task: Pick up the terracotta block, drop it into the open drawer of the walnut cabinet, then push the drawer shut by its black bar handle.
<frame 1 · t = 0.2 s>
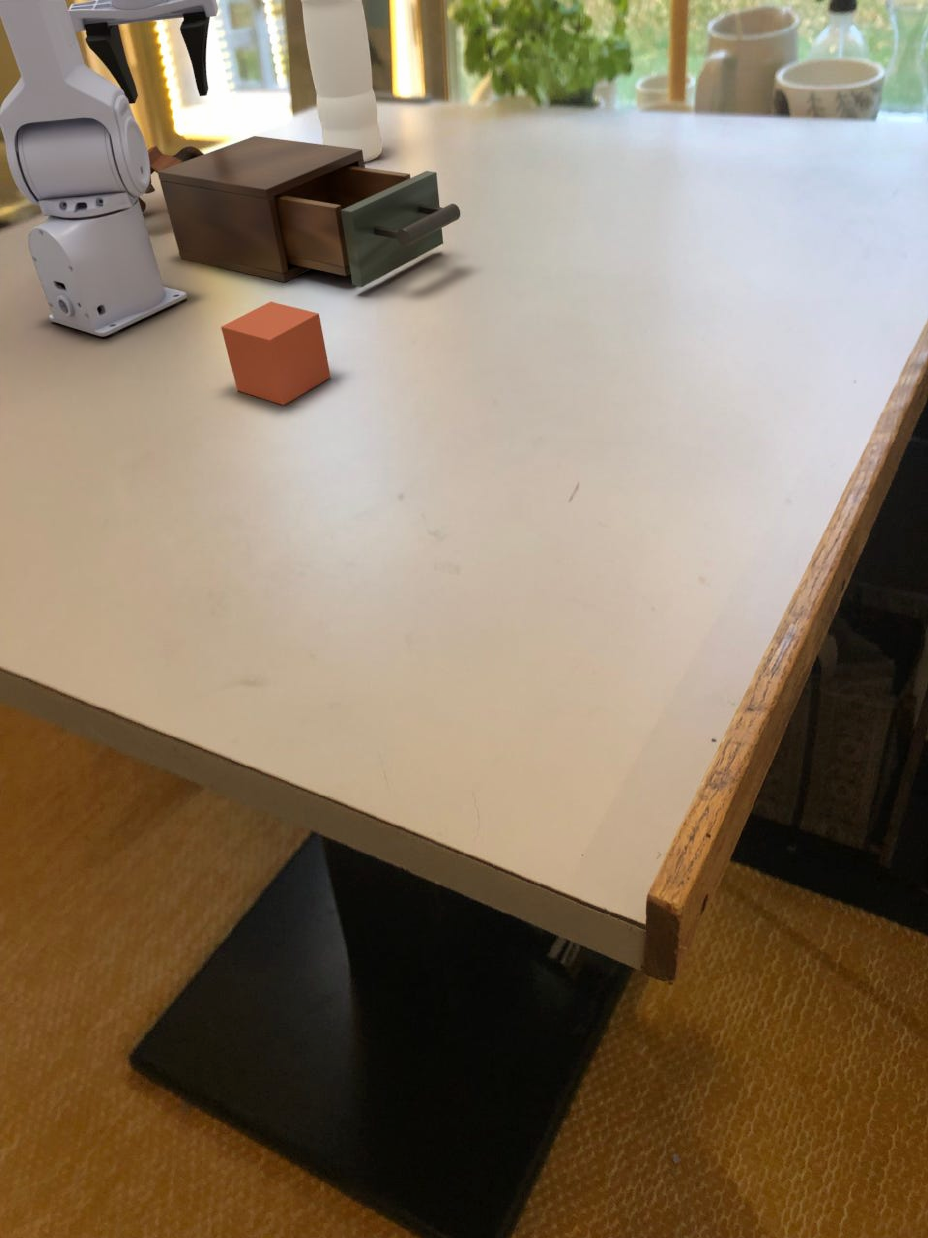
hand: (168, 95, 105), 10 cm above the table, tool pointing down, fingers open, 7 cm apart
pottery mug: (175, 219, 107), on the table
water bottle: (354, 159, 119), on the table
drawer: (360, 221, 88), point 4 cm above the table, slide at 8.0 cm
block: (284, 383, 73), on the table
cabinet: (277, 247, 96), on the table
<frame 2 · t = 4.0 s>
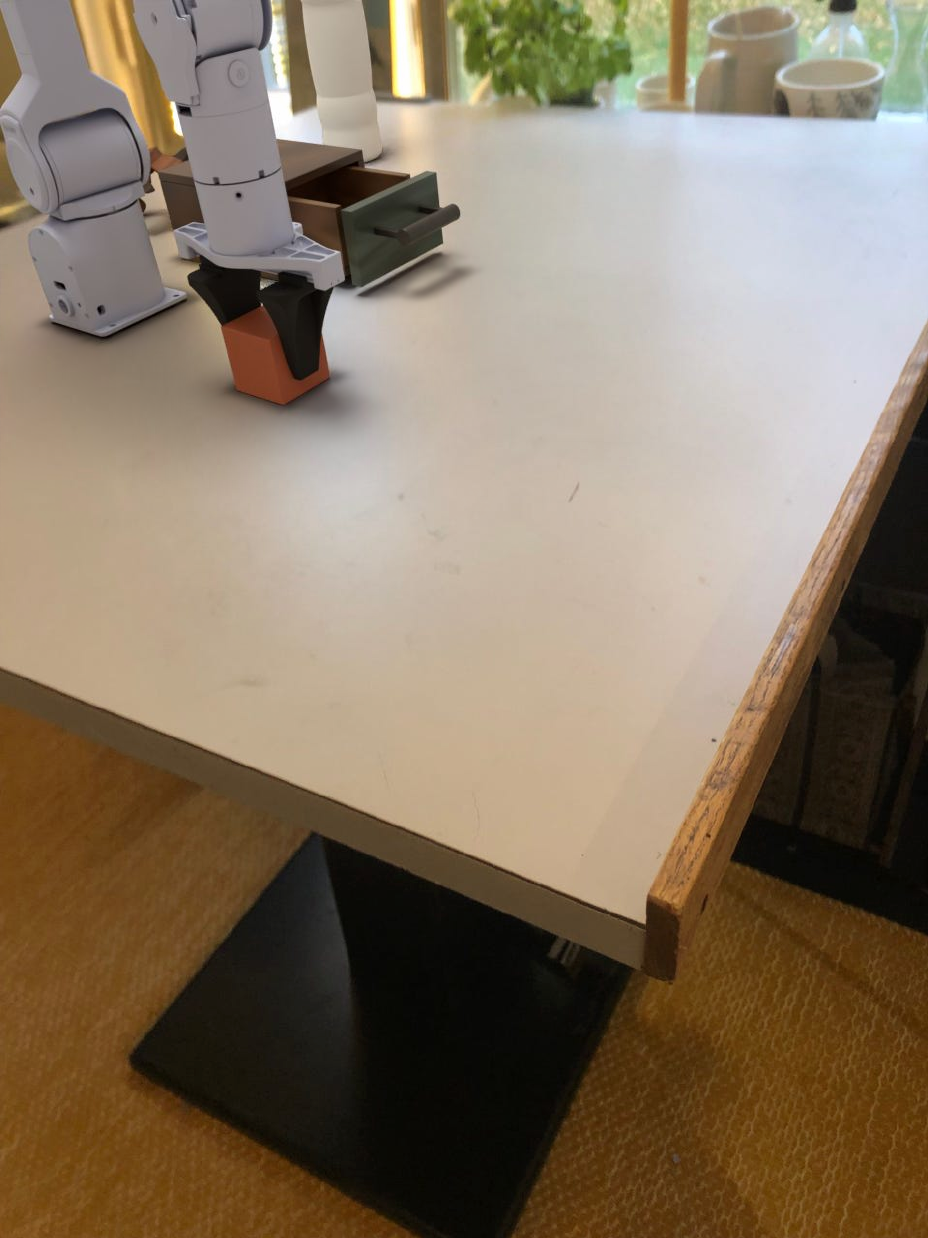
hand: (280, 366, 72), 1 cm above the table, tool pointing down, fingers closed on block, 5 cm apart
block: (283, 383, 73), on the table, touching gripper
everything else where it was.
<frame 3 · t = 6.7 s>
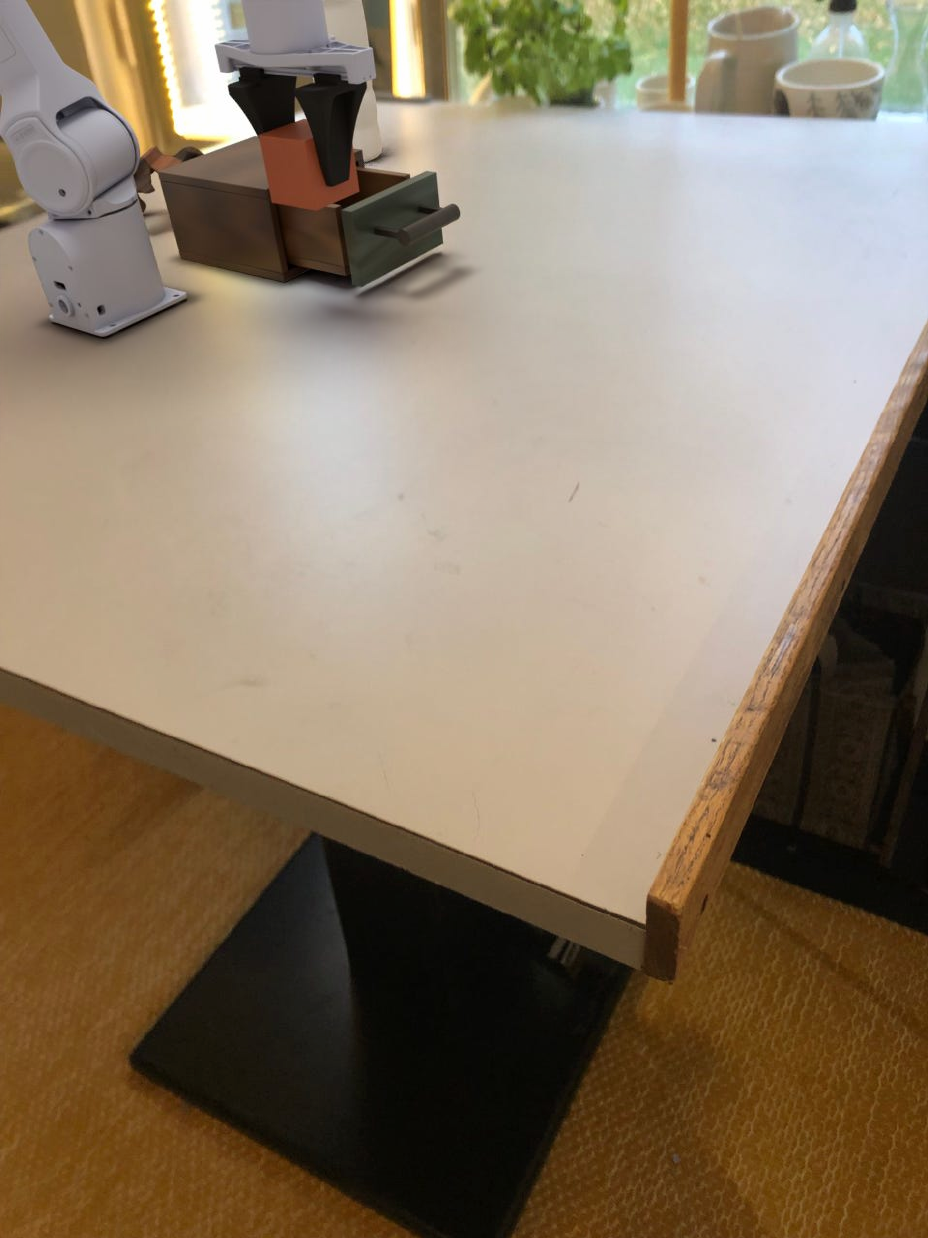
hand: (312, 178, 77), 10 cm above the table, tool pointing down, fingers closed on block, 5 cm apart
block: (315, 197, 78), point 9 cm above the table, touching gripper
everything else where it was.
when the fingers open (6 cm above the table, at t = 9.3 s): block drops 3 cm, resting on drawer.
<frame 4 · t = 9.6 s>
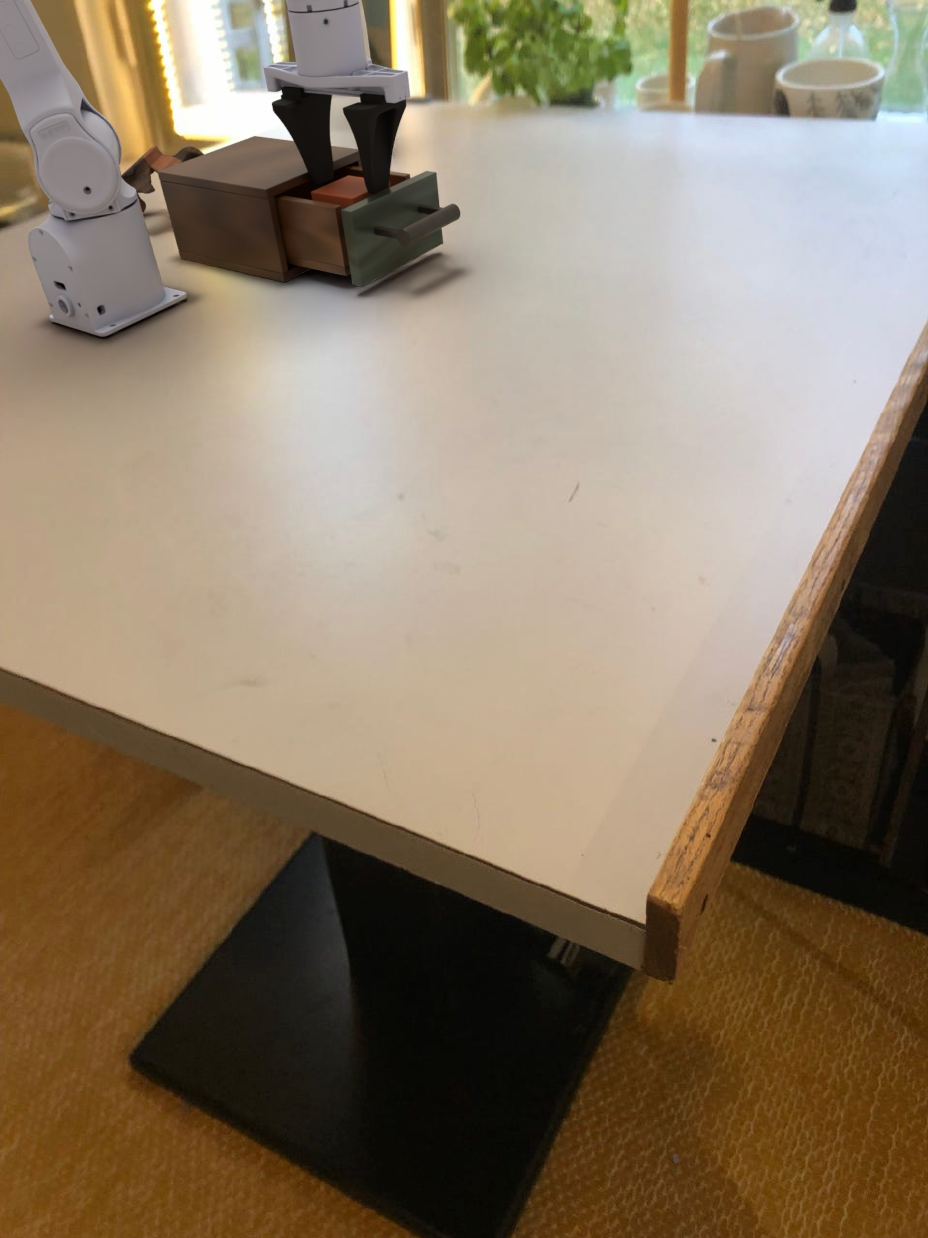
hand: (350, 185, 86), 7 cm above the table, tool pointing down, fingers open, 6 cm apart
drawer: (360, 221, 88), point 4 cm above the table, slide at 8.0 cm, touching block
block: (358, 243, 89), point 2 cm above the table, touching drawer
everything else where it was.
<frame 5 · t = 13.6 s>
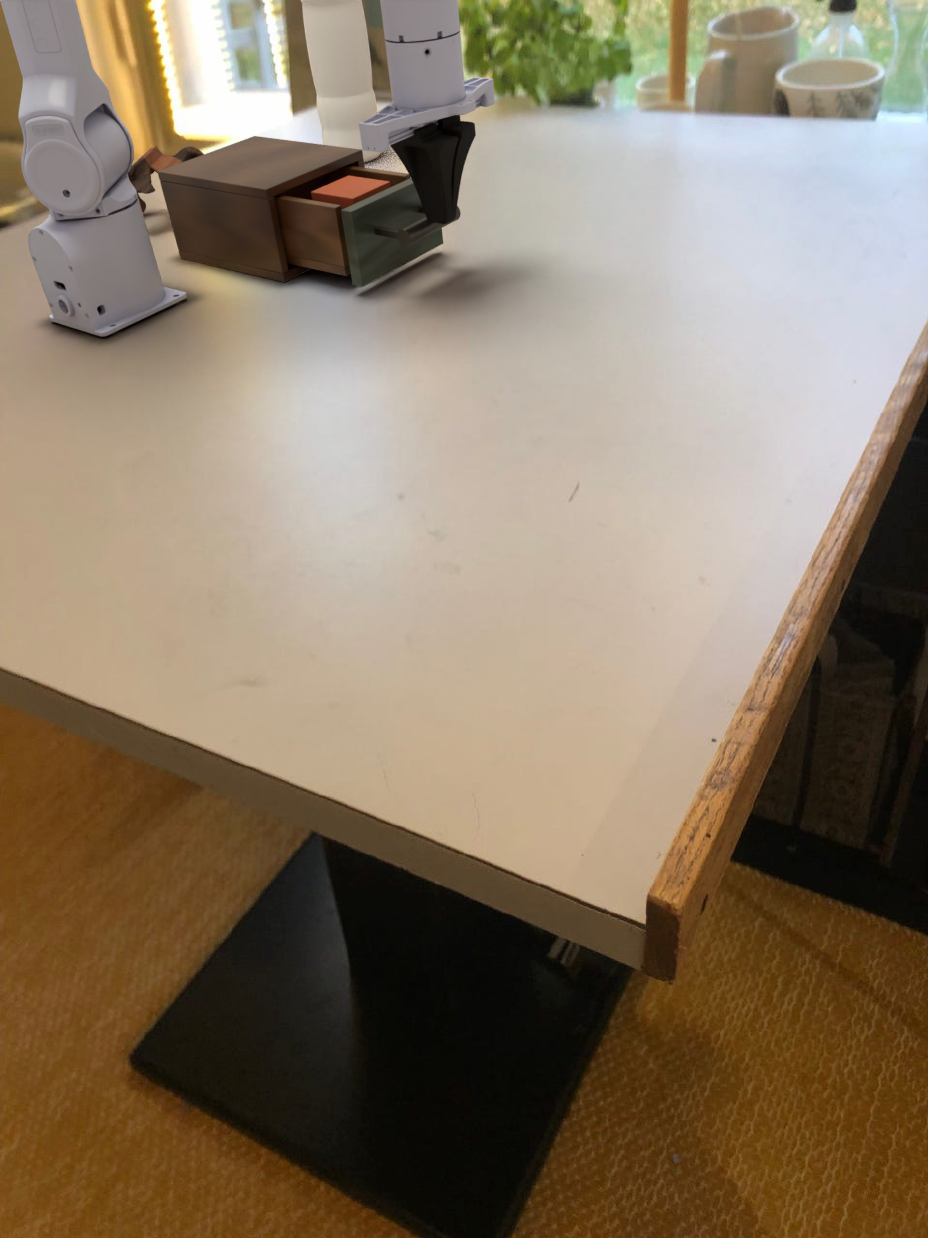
hand: (441, 220, 82), 5 cm above the table, tool pointing down, fingers closed, pressing on drawer
drawer: (360, 221, 88), point 4 cm above the table, slide at 8.0 cm, touching block, gripper
everything else where it was.
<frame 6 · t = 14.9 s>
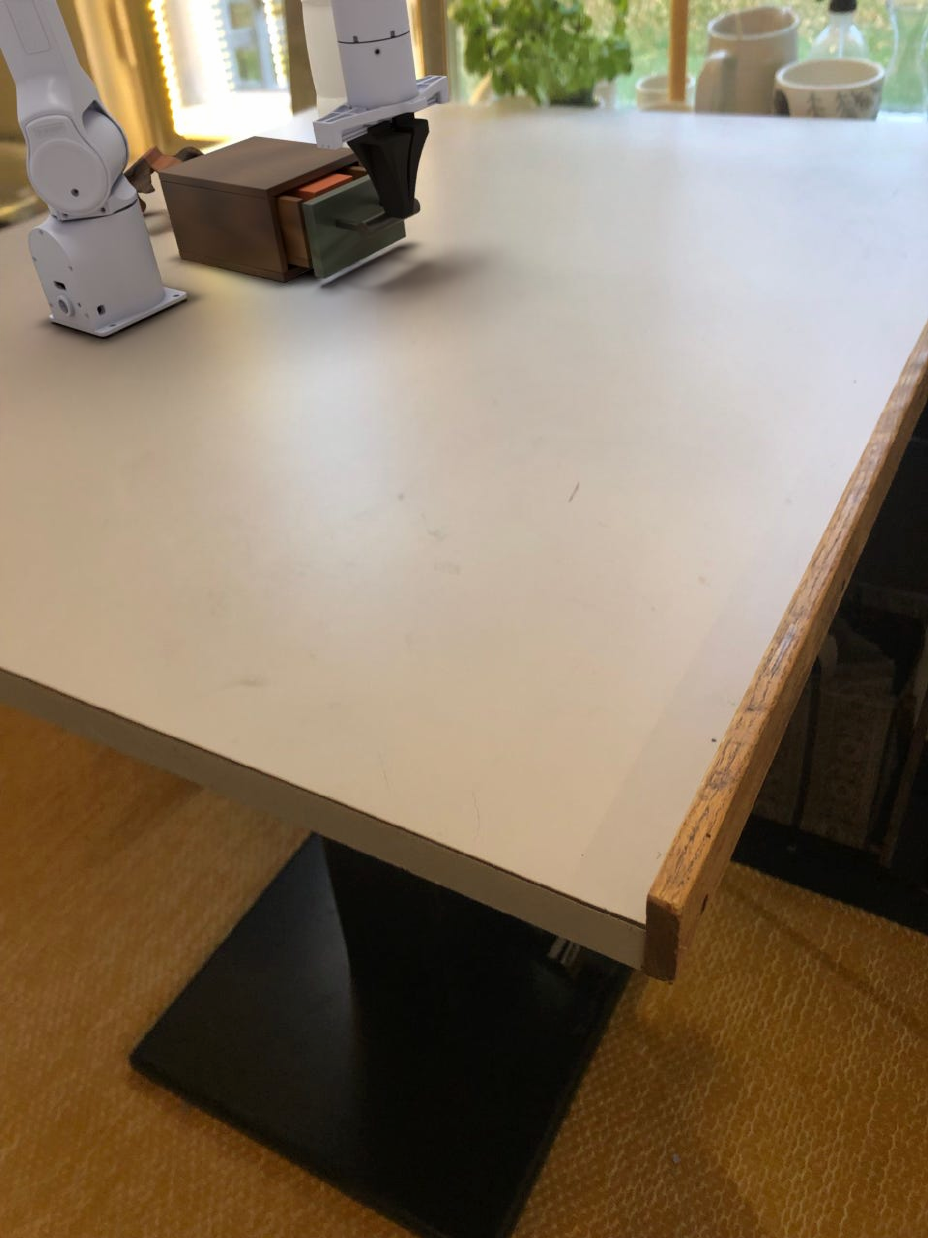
hand: (400, 214, 85), 5 cm above the table, tool pointing down, fingers closed, pressing on drawer
drawer: (324, 214, 90), point 4 cm above the table, slide at 3.5 cm, touching block, gripper
block: (323, 236, 92), point 2 cm above the table, touching drawer
everything else where it was.
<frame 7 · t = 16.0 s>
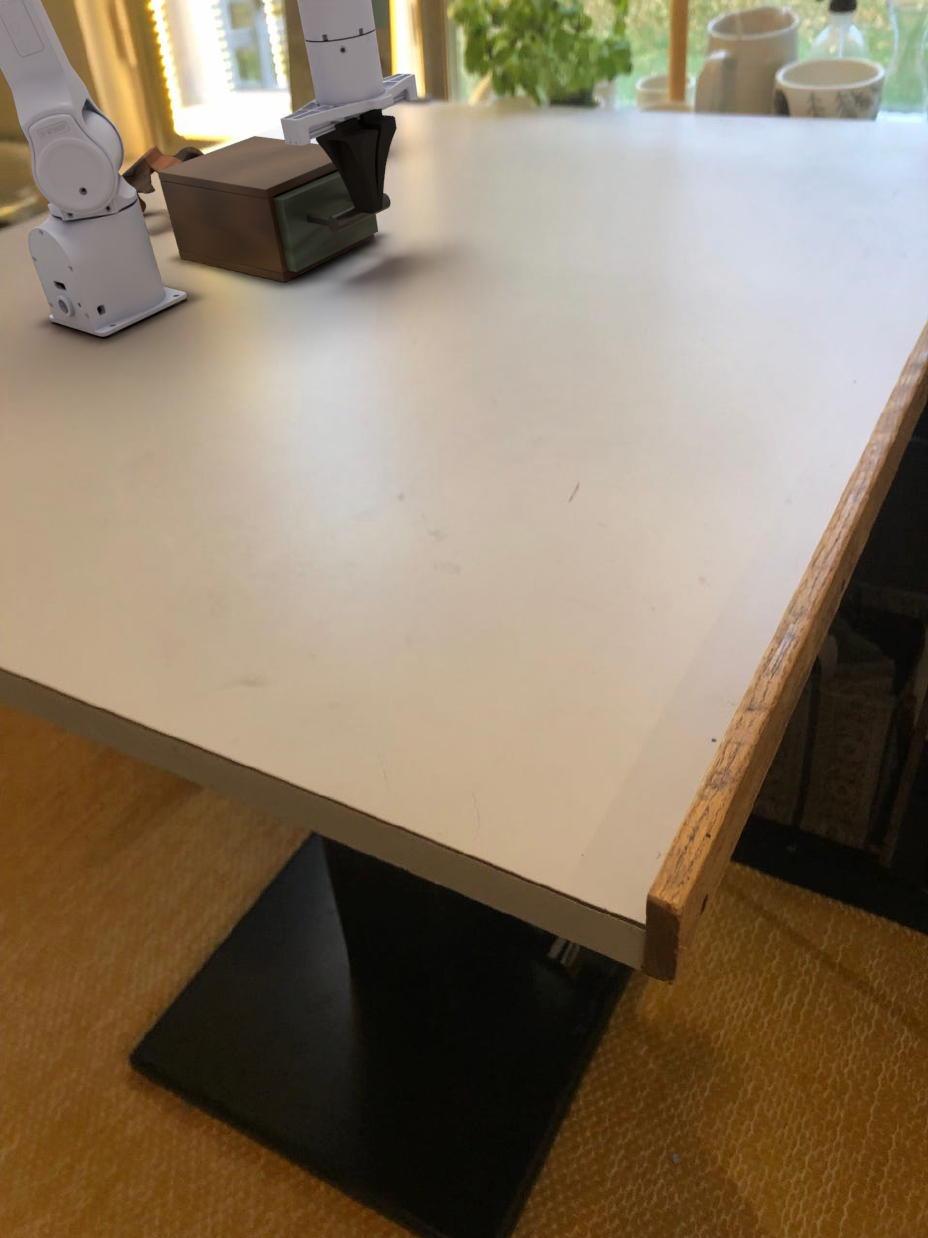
hand: (370, 209, 86), 5 cm above the table, tool pointing down, fingers closed, pressing on drawer
drawer: (296, 210, 92), point 4 cm above the table, slide at 0.0 cm, touching block, cabinet, gripper
block: (296, 231, 93), point 2 cm above the table, touching drawer
everything else where it was.
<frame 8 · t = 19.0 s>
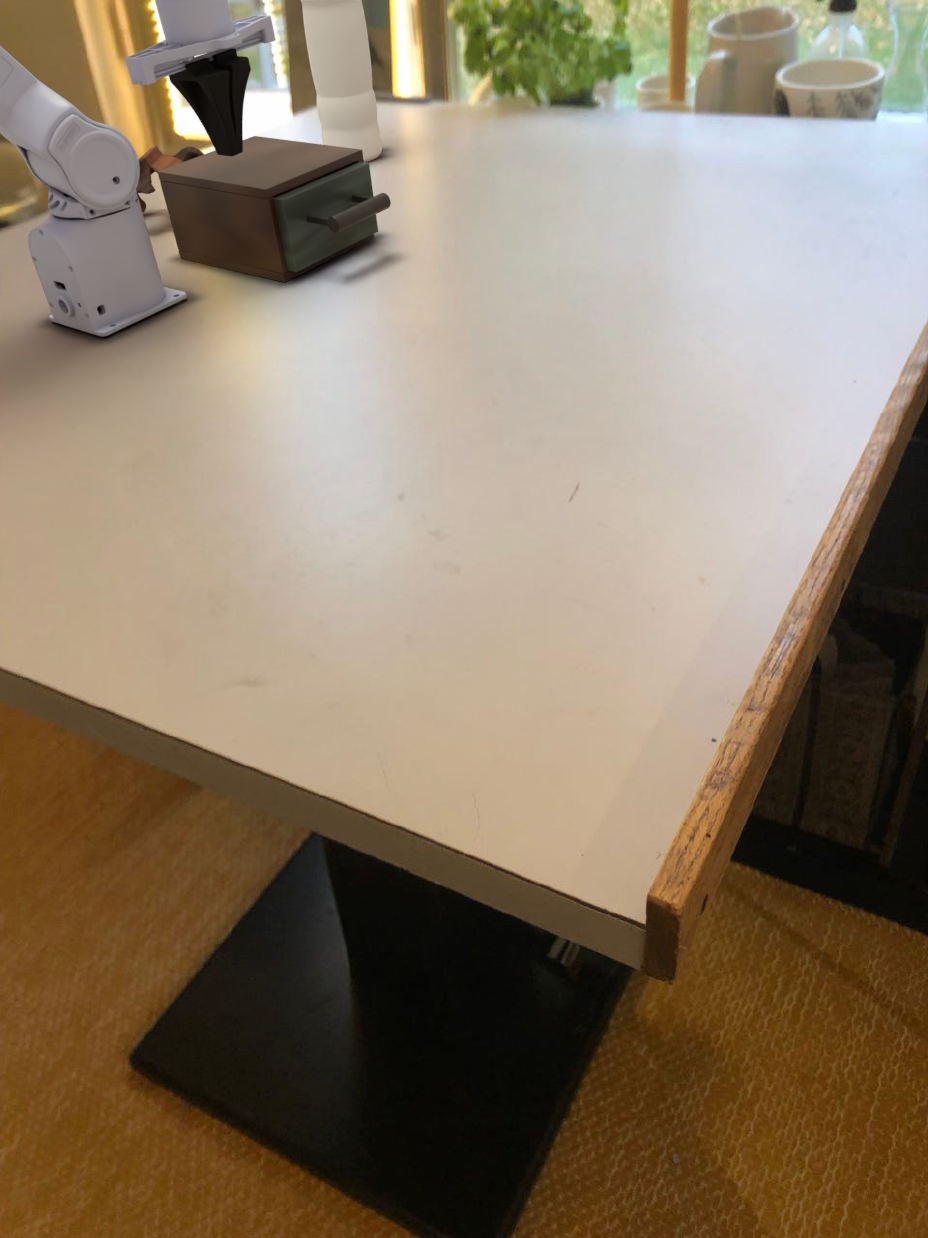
hand: (230, 153, 87), 10 cm above the table, tool pointing down, fingers closed
drawer: (296, 210, 92), point 4 cm above the table, slide at 0.0 cm, touching block, cabinet
everything else where it was.
at the end: block inside the target area in the cabinet (3.1 cm from its centre), point 2.0 cm above the cabinet's base; drawer slide at 0.0 cm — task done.
